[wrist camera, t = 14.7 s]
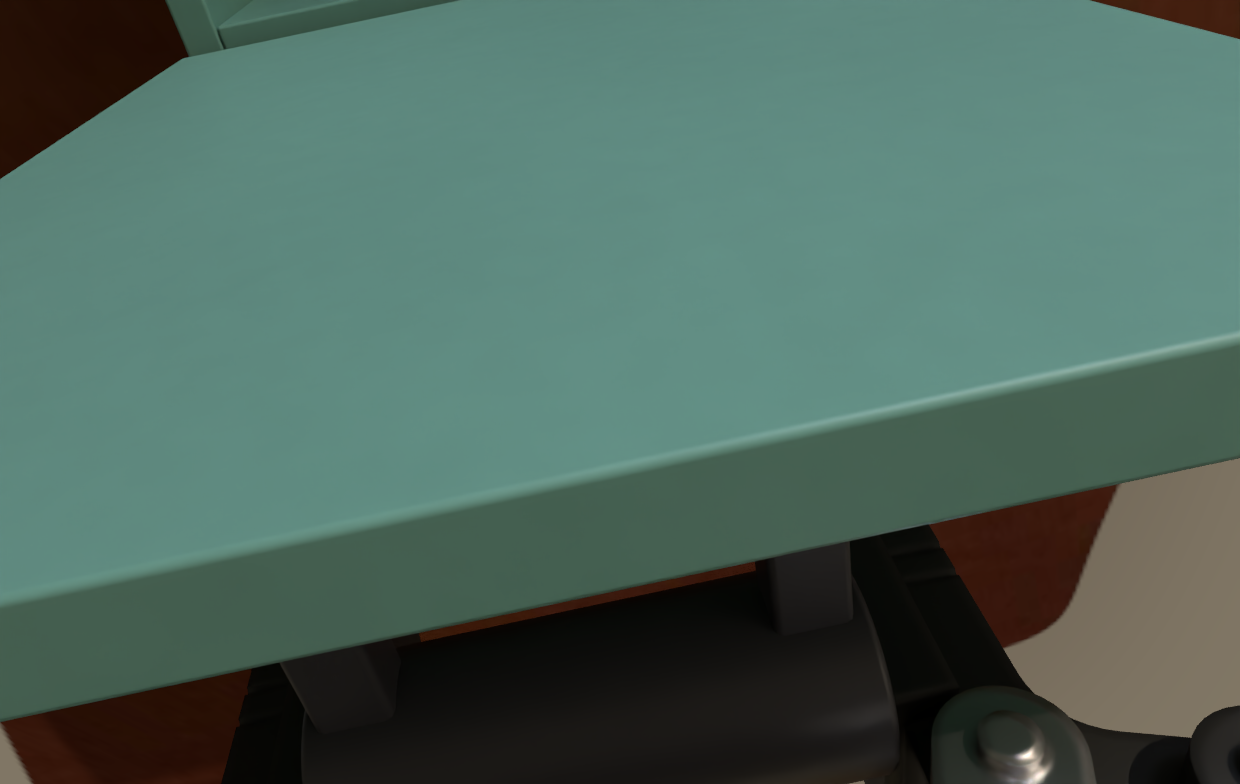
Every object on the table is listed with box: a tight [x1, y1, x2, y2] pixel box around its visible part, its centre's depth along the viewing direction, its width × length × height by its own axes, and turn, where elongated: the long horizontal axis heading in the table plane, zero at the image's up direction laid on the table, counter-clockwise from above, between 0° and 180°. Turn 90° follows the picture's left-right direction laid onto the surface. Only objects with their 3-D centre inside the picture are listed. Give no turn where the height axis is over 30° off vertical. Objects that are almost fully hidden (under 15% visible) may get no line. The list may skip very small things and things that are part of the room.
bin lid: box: [0, 0, 1240, 784], centre depth 13 cm, size 17×14×5 cm
